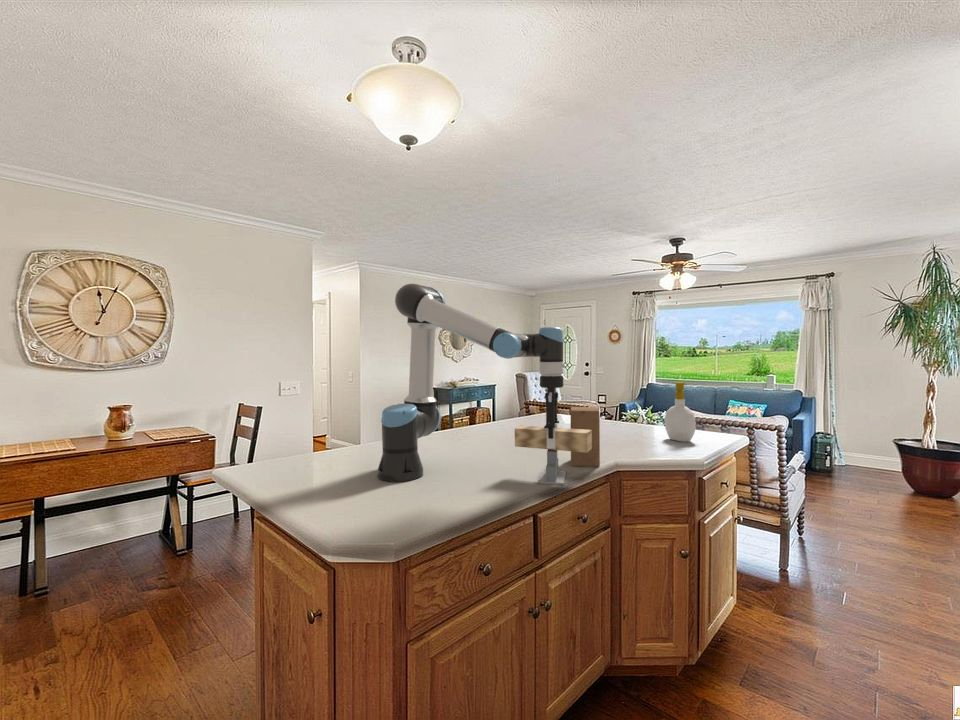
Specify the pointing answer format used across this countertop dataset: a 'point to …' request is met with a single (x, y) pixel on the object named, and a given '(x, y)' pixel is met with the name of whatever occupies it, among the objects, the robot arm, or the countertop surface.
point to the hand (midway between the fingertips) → (552, 445)
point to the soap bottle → (680, 418)
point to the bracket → (552, 470)
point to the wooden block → (591, 421)
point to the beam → (563, 438)
